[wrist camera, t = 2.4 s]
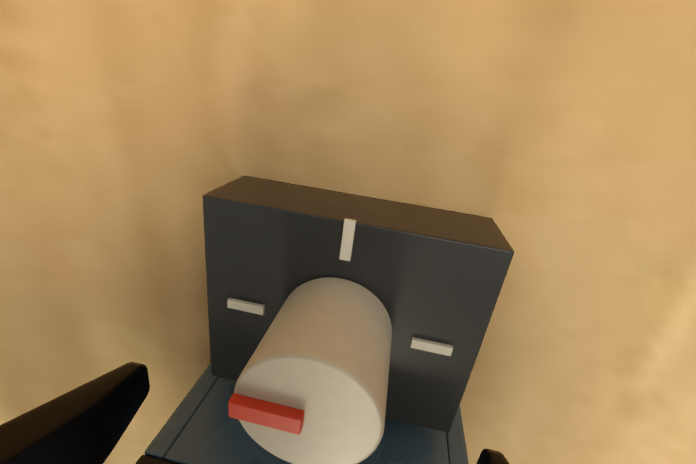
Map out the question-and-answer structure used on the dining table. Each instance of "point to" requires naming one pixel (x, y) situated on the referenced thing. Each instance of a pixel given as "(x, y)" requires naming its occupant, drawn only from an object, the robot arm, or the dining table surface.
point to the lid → (151, 460)
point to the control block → (356, 280)
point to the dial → (319, 376)
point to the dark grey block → (253, 460)
